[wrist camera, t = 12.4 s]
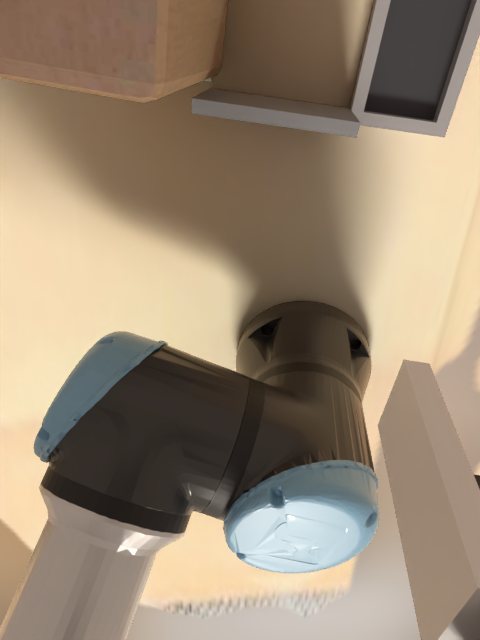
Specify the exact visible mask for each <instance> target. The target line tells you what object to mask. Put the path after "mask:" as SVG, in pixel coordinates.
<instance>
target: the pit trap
mask: <svg viewBox="0 0 480 640" xmlns="http://www.w3.org/2000/svg"><path fill="white" fill-rule="evenodd" d="M479 35H480V0H374V3H373V8H372V12H371V17H370V21H369V26H368V30H367V34H366V39H365V43H364V48H363V52H362V56H361V61H360V65H359V70H358V74H357V79H356V83H355V87H354V92H353V96H352V101H351V105H350V109H351V111H352V112H353V113H354V115H355V116H356V117H357V119H358V120H359V121H360V125H362V126H369V127H376V128H383V129H390V130H397V131H404V132H411V133H418V134H425V135H432V136H439V137H445V135H446V132H447V129H448V126H449V123H450V120H451V117H452V114H453V111H454V108H455V105H456V102H457V99H458V96H459V93H460V91H461V88H462V85H463V82H464V79H465V76H466V73H467V70H468V67H469V64H470V61H471V58H472V55H473V52H474V49H475V47H476V44H477V41H478V38H479Z"/></svg>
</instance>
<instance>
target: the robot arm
mask: <svg viewBox="0 0 480 640" xmlns="http://www.w3.org/2000/svg"><path fill="white" fill-rule="evenodd" d="M236 370H237V372H235V371H232V370H230V369H227V368H224V367H222V366H219V365H216V364H213V363H211V362H208V361H206V360H203V359H200V358H198V357H195V356H193V355H190V354H188V353H185V352H182V351H180V350H177V349H175V348H172V347H170V346H167V343H166V342H164V341H159V342H157V341H154V340H151V339H148V338H145V337H142V336H138V335H135V334H132V333H129V332H124V331H119V332H113V333H110V334H108V335H106V336H105V337H103V338H101V339H100V340H99V341H98V342H97V343H96V344H95V345H94V346H93V347H92V348H91V349H90V350H89V351H88V352H87V353H86V354H85V355H84V357H83V358H82V359H81V360H80V361H79V363H78V364H77V365H76V367H75V368H74V370H73V371H72V372H71V374H70V375H69V377H68V378H67V380H66V381H65V383H64V384H63V386H62V387H61V389H60V390H59V392H58V394H57V395H56V397H55V399H54V401H53V402H52V404H51V406H50V408H49V409H48V411H47V413H46V415H45V417H44V419H43V422H42V427H41V429H40V431H39V433H38V434H37V436H36V439H35V442H34V452H35V454H36V455H37V456H38V457H40V460H41V461H43V462H46V463H47V462H49V466H48V469H47V471H46V473H45V475H44V478H43V480H42V482H41V484H40V487H39V489H40V492H41V494H42V497H43V499H44V502H45V504H46V506H47V509H48V520H47V522H46V524H45V527H44V529H43V531H42V533H41V536H40V538H39V540H38V543H37V545H36V547H35V549H34V552H33V554H32V557H31V559H30V561H29V563H28V566H27V568H26V570H25V572H24V575H23V577H22V579H21V581H20V584H19V586H18V588H17V591H16V593H15V595H14V597H13V600H12V602H11V604H10V607H9V609H8V611H7V614H6V616H5V618H4V620H3V623H2V625H1V627H0V640H126V637H127V634H128V632H129V629H130V626H131V623H132V621H133V618H134V615H135V612H136V609H137V607H138V604H139V601H140V598H141V595H142V593H143V590H144V587H145V584H146V581H147V579H148V576H149V573H150V570H151V567H152V565H153V562H154V559H155V556H156V553H157V552H158V551H159V550H160V549H161V548H163V547H164V546H166V545H168V544H170V543H172V542H174V541H176V540H178V539H180V538H181V537H183V536H184V533H185V530H186V527H187V524H188V521H189V519H190V516H191V513H192V512H193V511H197V512H199V513H203V514H206V515H209V516H212V517H215V518H217V519H220V520H223V521H224V527H223V530H224V534H225V537H226V542H227V544H228V547H229V548H230V549H231V551H232V552H234V553H236V554H237V557H238V558H239V559H241V560H242V561H244V562H245V563H247V564H249V565H251V566H254V567H256V568H259V569H263V570H267V571H272V572H279V573H307V572H314V571H319V570H322V569H327V568H331V567H334V566H337V565H339V564H342V563H344V562H346V561H348V560H349V559H351V558H353V557H354V556H356V555H357V554H359V553H360V552H361V551H362V550H363V549H364V548H365V547H366V546H367V545H368V544H369V543H370V541H371V540H372V538H373V536H374V534H375V532H376V529H377V526H378V521H379V510H378V497H377V489H378V479H377V477H376V474H375V473H374V467H373V462H372V456H371V451H370V446H369V440H368V435H367V429H366V424H365V418H364V413H363V407H362V400H363V397H364V394H365V391H366V388H367V385H368V382H369V378H370V374H371V356H370V351H369V346H368V342H367V339H366V337H365V335H364V333H363V331H362V329H361V328H360V327H359V325H358V324H357V323H356V322H355V321H354V320H353V319H352V318H351V317H349V316H348V315H347V314H345V313H344V312H342V311H340V310H338V309H336V308H334V307H332V306H329V305H326V304H322V303H317V302H310V301H296V302H288V303H284V304H280V305H277V306H274V307H272V308H270V309H268V310H266V311H264V312H262V313H261V314H259V315H258V316H257V317H256V318H254V319H253V320H252V321H251V322H250V323H249V325H248V326H247V327H246V329H245V330H244V332H243V334H242V336H241V339H240V342H239V346H238V351H237V356H236ZM378 428H379V433H380V438H381V443H382V448H383V453H384V458H385V463H386V468H387V473H388V477H389V483H390V488H391V492H392V498H393V502H394V508H395V513H396V518H397V522H398V527H399V533H400V537H401V542H402V547H403V552H404V557H405V562H406V567H407V572H408V577H409V582H410V587H411V592H412V597H413V602H414V606H415V612H416V617H417V622H418V627H419V632H420V637H421V640H480V476H479V475H474V474H473V472H472V469H471V467H470V464H469V462H468V459H467V457H466V454H465V452H464V449H463V447H462V444H461V442H460V439H459V437H458V434H457V432H456V429H455V427H454V424H453V422H452V419H451V417H450V414H449V412H448V409H447V406H446V404H445V402H444V399H443V397H442V394H441V392H440V389H439V387H438V384H437V381H436V379H435V376H434V374H433V371H432V369H431V366H430V364H428V363H422V362H415V361H409V360H403V363H402V365H401V368H400V371H399V373H398V376H397V378H396V381H395V383H394V386H393V388H392V391H391V393H390V396H389V398H388V401H387V404H386V406H385V409H384V411H383V414H382V416H381V419H380V421H379V424H378Z"/></svg>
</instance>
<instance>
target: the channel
mask: <svg viewBox="0 0 480 640" xmlns="http://www.w3.org/2000/svg"><path fill="white" fill-rule="evenodd" d="M191 114H197V115H204V116H211V117H218V118H225V119H232V120H239V121H246V122H253V123H259V124H266V125H273V126H280V127H287V128H294V129H301V130H308V131H314V132H321V133H328V134H335V135H342V136H349V137H356V138H357V134H358V130H359V126H360V121H359V120H358V119H357V117H356V116H355V115H354V113H353V112H352V111H351V109H350V108H345V107H338V106H331V105H324V104H317V103H310V102H303V101H296V100H289V99H282V98H275V97H268V96H261V95H254V94H247V93H240V92H233V91H226V90H219V89H212V88H211V89H209V90H207V91H205V92H203V93H201V94H199V95H197V96H196V97H194V98H192V108H191Z"/></svg>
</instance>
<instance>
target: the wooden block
mask: <svg viewBox="0 0 480 640" xmlns="http://www.w3.org/2000/svg"><path fill="white" fill-rule="evenodd" d="M227 7H228V0H0V78H5V79H11V80H16V81H22V82H28V83H33V84H39V85H45V86H50V87H56V88H62V89H67V90H73V91H79V92H84V93H90V94H95V95H101V96H107V97H112V98H118V99H124V100H129V101H135V102H141V103H145V102H149V101H152V100H156V99H159V98H162V97H164V96H166V95H169V94H171V93H174V92H176V91H179V90H181V89H184V88H186V87H189V86H191V85H194V84H196V83H198V82H201V81H203V80H206V79H208V78H211V77H213V76H216V75H217V73H218V71H219V69H220V67H221V63H222V54H223V45H224V35H225V26H226V17H227Z"/></svg>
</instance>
